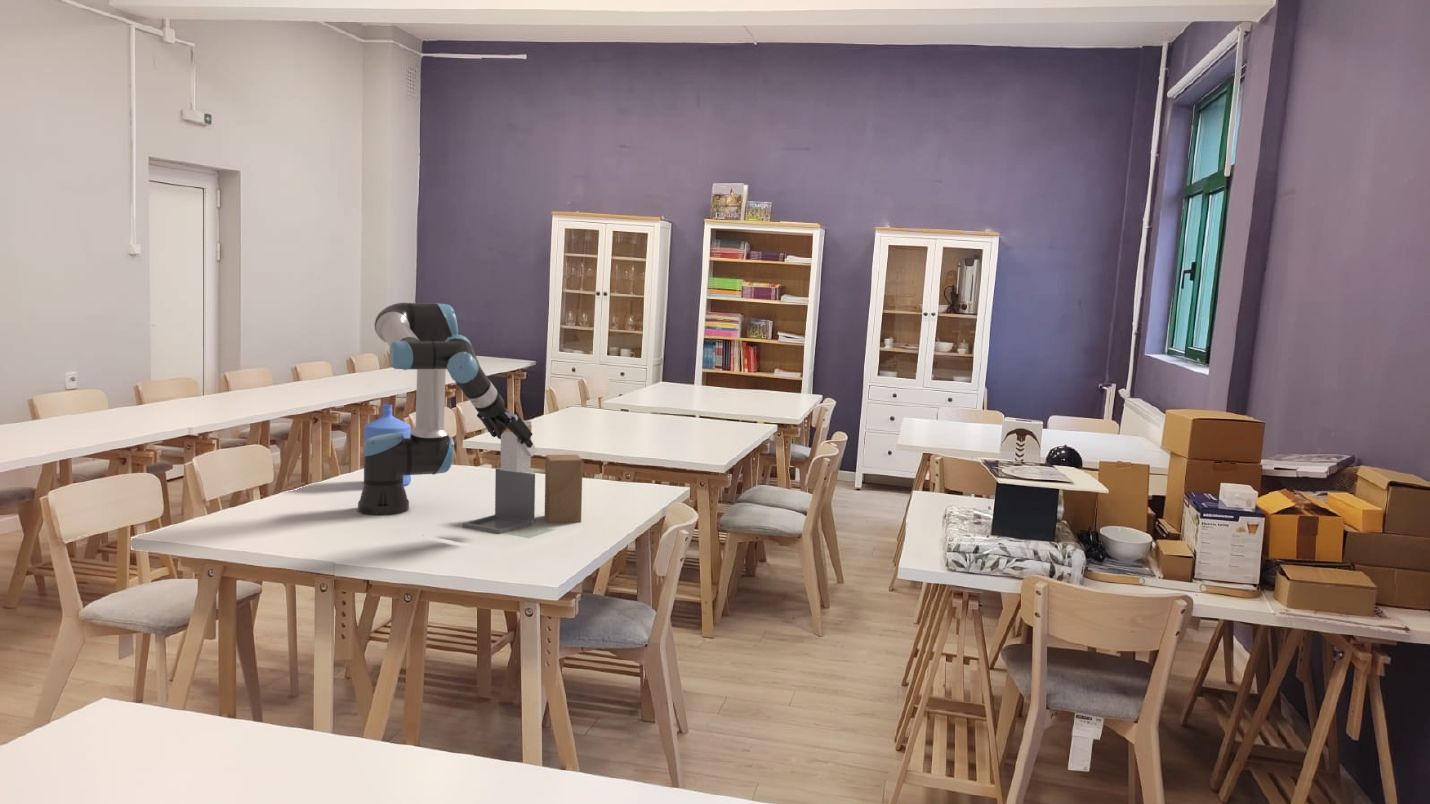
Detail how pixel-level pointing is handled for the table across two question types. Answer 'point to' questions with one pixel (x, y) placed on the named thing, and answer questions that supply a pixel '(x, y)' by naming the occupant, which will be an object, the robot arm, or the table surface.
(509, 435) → the block
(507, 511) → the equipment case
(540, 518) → the table surface
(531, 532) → the sage board
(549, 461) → the wooden block
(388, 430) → the water jug
